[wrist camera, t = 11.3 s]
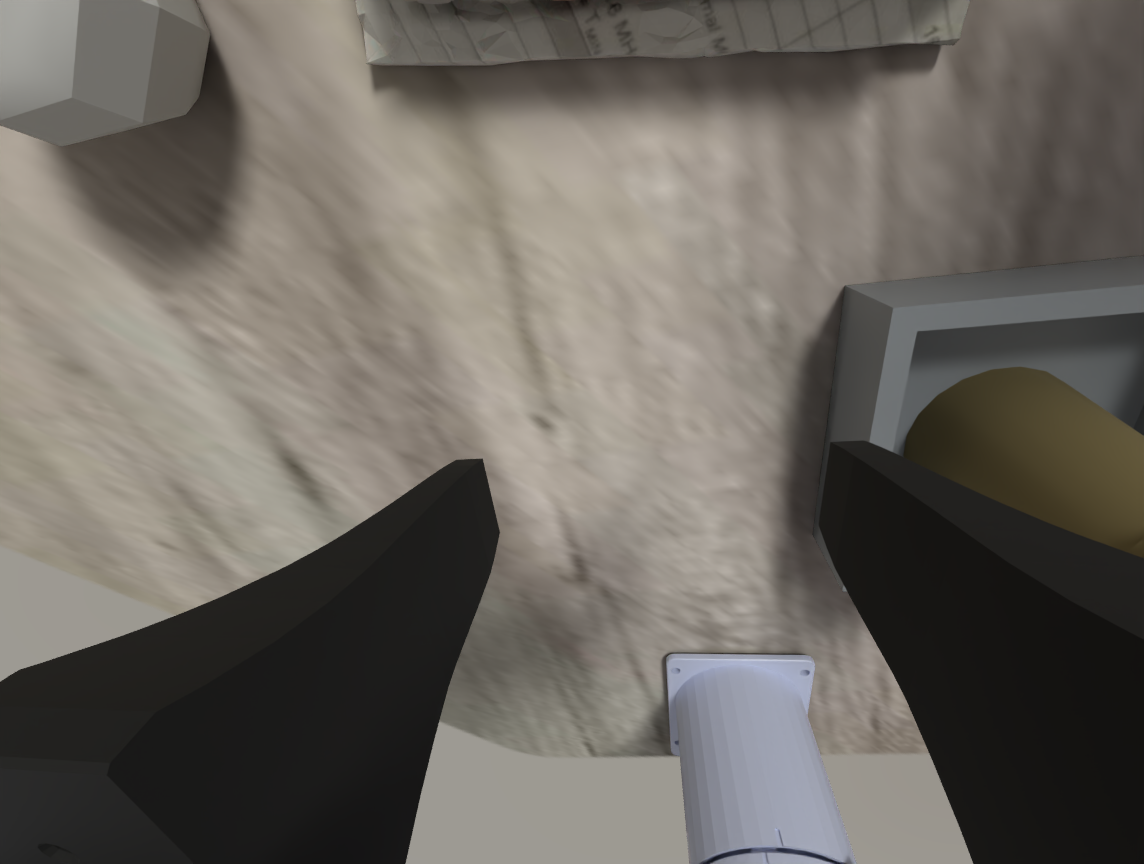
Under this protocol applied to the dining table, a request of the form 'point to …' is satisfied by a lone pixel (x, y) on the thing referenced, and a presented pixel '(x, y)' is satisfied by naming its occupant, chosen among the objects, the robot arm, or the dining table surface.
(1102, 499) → the cork
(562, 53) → the packaged product
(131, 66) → the apple
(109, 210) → the dining table surface
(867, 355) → the tote
